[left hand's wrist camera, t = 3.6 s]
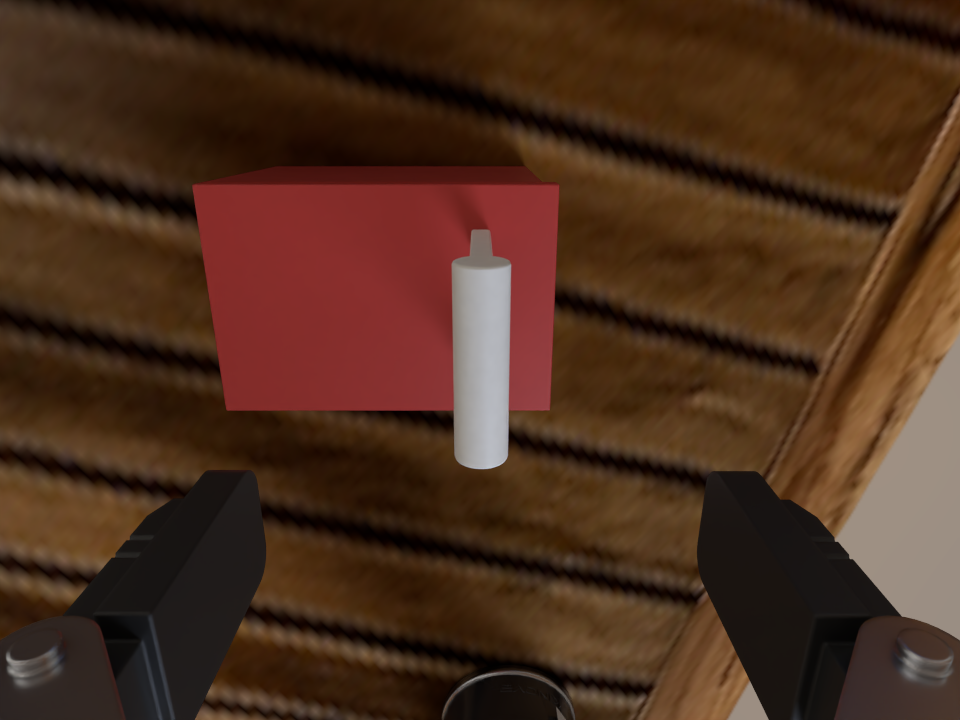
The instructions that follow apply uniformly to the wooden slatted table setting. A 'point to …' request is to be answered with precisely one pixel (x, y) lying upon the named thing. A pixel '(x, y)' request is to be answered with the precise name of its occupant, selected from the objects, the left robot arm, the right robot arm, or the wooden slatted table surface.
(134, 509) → the wooden slatted table surface
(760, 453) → the wooden slatted table surface
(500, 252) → the lid
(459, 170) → the chest
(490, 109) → the wooden slatted table surface
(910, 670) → the left robot arm
